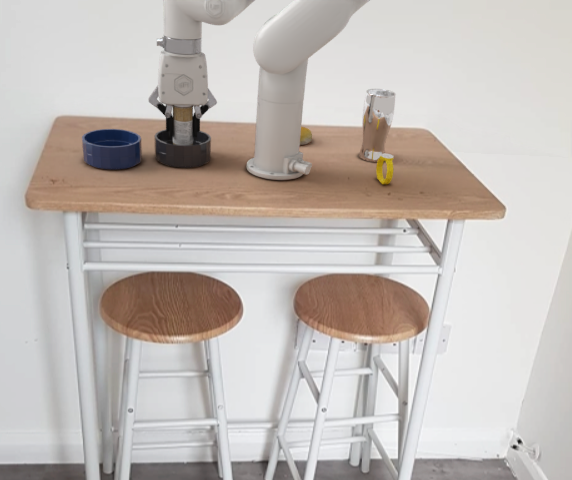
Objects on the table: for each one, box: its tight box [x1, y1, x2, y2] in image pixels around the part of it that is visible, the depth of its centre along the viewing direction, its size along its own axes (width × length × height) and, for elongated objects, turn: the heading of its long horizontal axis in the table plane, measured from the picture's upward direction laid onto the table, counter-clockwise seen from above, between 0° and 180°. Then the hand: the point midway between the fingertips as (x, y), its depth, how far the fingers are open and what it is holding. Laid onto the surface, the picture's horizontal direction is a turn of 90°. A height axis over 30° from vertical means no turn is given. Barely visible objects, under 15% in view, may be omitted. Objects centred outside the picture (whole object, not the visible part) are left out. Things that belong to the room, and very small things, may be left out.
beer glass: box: [358, 88, 397, 163], centre depth 162 cm, size 7×7×15 cm
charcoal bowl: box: [153, 128, 212, 169], centre depth 154 cm, size 12×12×5 cm
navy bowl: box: [81, 128, 143, 171], centre depth 150 cm, size 12×12×5 cm
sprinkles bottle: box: [172, 105, 194, 145], centre depth 151 cm, size 5×5×13 cm
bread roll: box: [300, 125, 313, 146], centre depth 171 cm, size 8×9×4 cm
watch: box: [375, 153, 395, 185], centre depth 151 cm, size 6×3×6 cm, turn 16°
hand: (182, 134), depth 152 cm, fingers closed on sprinkles bottle, 4 cm apart
